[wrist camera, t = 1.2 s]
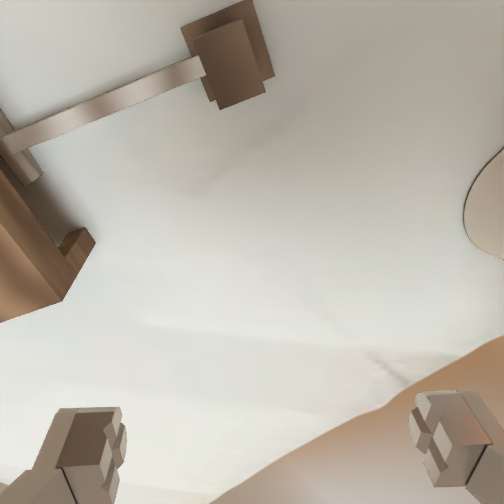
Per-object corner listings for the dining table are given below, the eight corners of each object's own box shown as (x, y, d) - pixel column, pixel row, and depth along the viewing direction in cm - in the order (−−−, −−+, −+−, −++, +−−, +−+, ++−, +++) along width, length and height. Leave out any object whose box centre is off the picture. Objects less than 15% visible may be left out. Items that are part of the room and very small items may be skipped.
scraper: (248, -10, 31) (258, -23, 21) (275, 80, 35) (296, 107, 24) (-16, 104, 34) (-119, 142, 24) (34, 176, 38) (-38, 235, 27)
